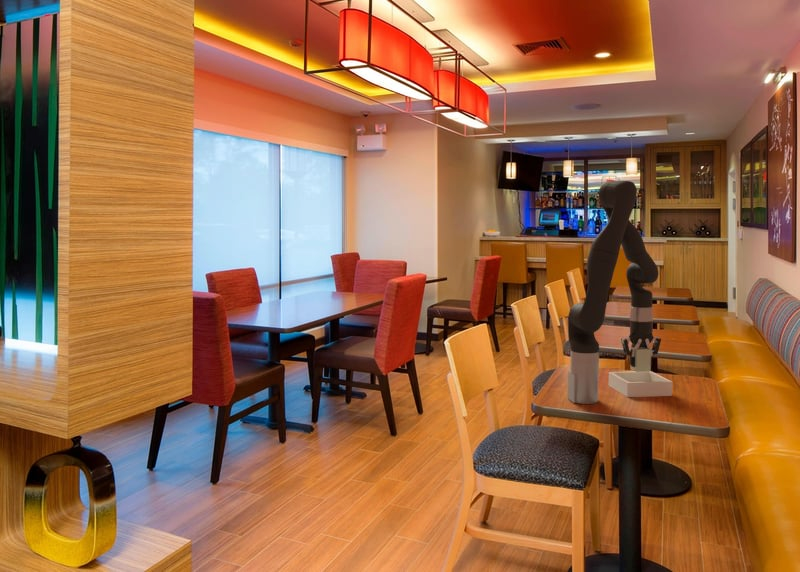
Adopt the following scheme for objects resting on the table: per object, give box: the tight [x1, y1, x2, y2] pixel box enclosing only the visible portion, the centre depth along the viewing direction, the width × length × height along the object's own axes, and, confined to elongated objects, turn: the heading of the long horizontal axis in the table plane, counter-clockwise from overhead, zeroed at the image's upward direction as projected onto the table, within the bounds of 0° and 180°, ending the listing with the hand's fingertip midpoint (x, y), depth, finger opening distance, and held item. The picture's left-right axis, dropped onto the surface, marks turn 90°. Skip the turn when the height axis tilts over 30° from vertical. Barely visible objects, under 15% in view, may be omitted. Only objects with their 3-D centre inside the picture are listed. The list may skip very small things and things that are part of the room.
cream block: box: [630, 347, 652, 372], centre depth 219 cm, size 5×5×8 cm
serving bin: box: [608, 370, 673, 398], centre depth 220 cm, size 16×16×5 cm
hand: (640, 366), depth 219 cm, fingers closed on cream block, 5 cm apart
